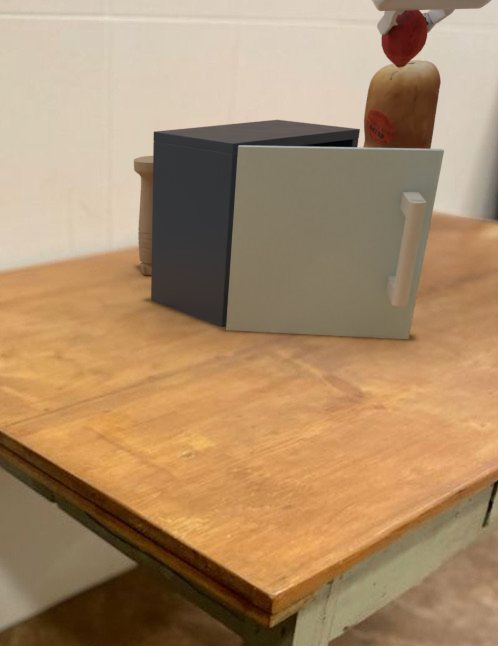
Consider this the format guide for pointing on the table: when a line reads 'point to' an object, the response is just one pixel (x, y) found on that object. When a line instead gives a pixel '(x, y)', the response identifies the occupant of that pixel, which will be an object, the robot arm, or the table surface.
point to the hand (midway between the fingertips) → (401, 30)
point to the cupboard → (209, 206)
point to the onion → (405, 38)
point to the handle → (145, 212)
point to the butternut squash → (402, 106)
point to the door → (330, 239)
